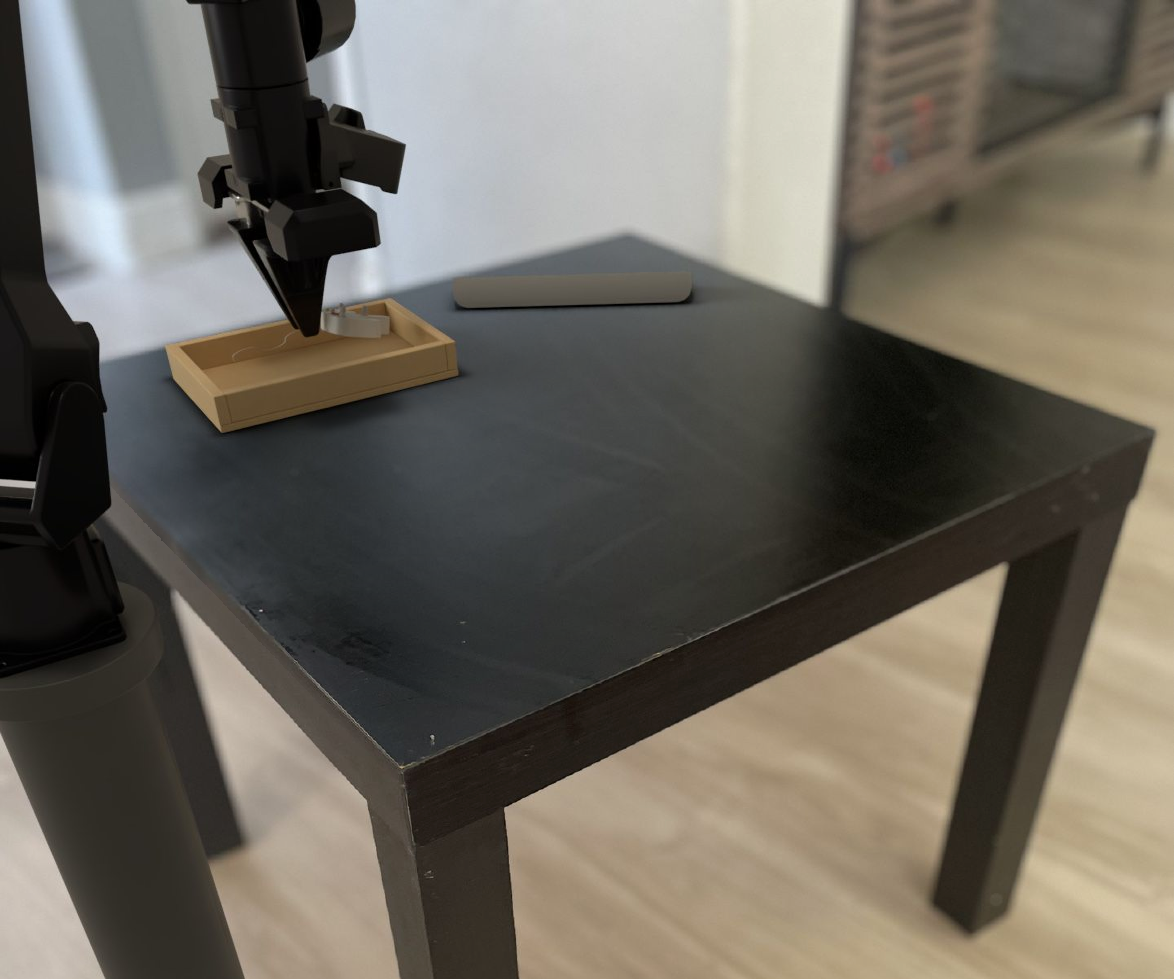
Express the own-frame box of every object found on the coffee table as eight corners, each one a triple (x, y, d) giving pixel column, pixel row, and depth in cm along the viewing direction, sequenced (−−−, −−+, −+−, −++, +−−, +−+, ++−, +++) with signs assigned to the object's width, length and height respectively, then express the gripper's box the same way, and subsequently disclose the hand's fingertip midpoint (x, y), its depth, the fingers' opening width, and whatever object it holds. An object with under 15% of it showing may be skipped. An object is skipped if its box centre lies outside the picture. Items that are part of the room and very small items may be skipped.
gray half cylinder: (457, 293, 102) (455, 270, 101) (690, 286, 101) (690, 264, 100) (452, 310, 99) (450, 287, 97) (693, 303, 98) (693, 280, 97)
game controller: (410, 335, 88) (404, 297, 87) (285, 371, 81) (277, 330, 80) (357, 328, 91) (351, 291, 90) (232, 363, 84) (224, 323, 83)
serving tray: (221, 433, 81) (213, 397, 79) (173, 379, 89) (164, 345, 87) (459, 375, 88) (455, 340, 86) (394, 329, 95) (390, 297, 94)
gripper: (442, 86, 73) (466, 346, 83) (328, 48, 86) (361, 277, 95) (264, 111, 69) (311, 382, 79) (172, 67, 81) (223, 305, 91)
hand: (306, 331), depth 86 cm, fingers closed on game controller, 2 cm apart
